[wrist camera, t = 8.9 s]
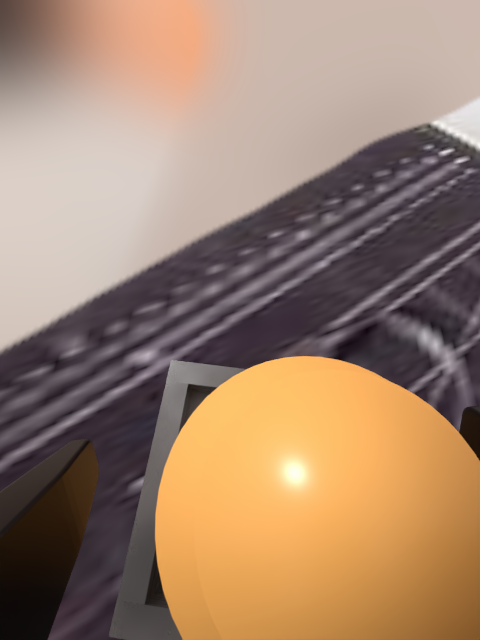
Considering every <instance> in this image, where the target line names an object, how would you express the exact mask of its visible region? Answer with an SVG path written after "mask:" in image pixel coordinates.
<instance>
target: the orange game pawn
mask: <svg viewBox="0 0 480 640" xmlns="http://www.w3.org/2000/svg"><path fill="white" fill-rule="evenodd" d="M155 543H156V553H157V564H158V569H159V574H160V578H161V583H162V588H163V592H164V595H165V598H166V601H167V604H168V607H169V610H170V612H171V615H172V618H173V620H174V622H175V624H176V626H177V628H178V630H179V633H180V635H181V637H182V639H183V640H480V461H479V459H478V458H477V456H476V454H475V453H474V451H473V450H472V449H471V448H470V446H469V445H468V444H467V442H466V441H465V440H464V438H463V437H462V436H461V435H460V433H459V432H458V431H457V430H456V429H455V428H454V427H453V426H452V425H451V424H450V423H449V422H448V421H447V420H446V419H445V418H444V417H443V416H442V415H441V414H440V413H438V412H437V411H436V410H435V409H434V408H433V407H432V406H430V405H429V404H427V403H426V402H425V401H423V400H422V399H420V398H419V397H418V396H416V395H415V394H413V393H411V392H409V391H408V390H406V389H404V388H402V387H400V386H399V385H396V384H394V383H392V382H390V381H388V380H386V379H384V378H383V377H381V376H379V375H377V374H375V373H374V372H371V371H369V370H366V369H364V368H362V367H359V366H357V365H354V364H350V363H347V362H344V361H340V360H335V359H329V358H323V357H309V356H300V357H287V358H281V359H276V360H272V361H267V362H264V363H262V364H259V365H256V366H253V367H250V368H248V369H247V370H245V371H243V372H241V373H239V374H237V375H235V376H233V377H232V378H230V379H229V380H227V381H226V382H224V383H223V384H221V385H220V386H219V387H218V388H217V389H215V390H214V391H213V392H212V393H211V394H210V395H209V396H207V397H206V398H205V399H204V401H203V402H202V403H201V404H200V405H199V406H198V407H197V408H196V410H195V411H194V412H193V413H192V415H191V416H190V418H189V419H188V420H187V422H186V423H185V425H184V426H183V428H182V429H181V431H180V433H179V435H178V437H177V439H176V441H175V443H174V445H173V447H172V449H171V451H170V454H169V457H168V459H167V462H166V465H165V467H164V471H163V475H162V479H161V483H160V487H159V492H158V499H157V507H156V517H155Z"/></svg>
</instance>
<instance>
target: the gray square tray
mask: <svg viewBox="0 0 480 640" xmlns="http://www.w3.org/2000/svg"><path fill="white" fill-rule="evenodd" d="M245 370H247V369H239V368H231V367H223V366H215V365H207V364H199V363H191V362H183V361H175V360H171V363H170V368H169V372H168V377H167V381H166V385H165V390H164V394H163V399H162V403H161V407H160V412H159V416H158V421H157V425H156V430H155V434H154V438H153V443H152V447H151V452H150V456H149V461H148V465H147V469H146V474H145V478H144V483H143V487H142V491H141V496H140V500H139V505H138V509H137V514H136V518H135V522H134V527H133V531H132V536H131V540H130V545H129V549H128V553H127V558H126V562H125V567H124V571H123V575H122V580H121V584H120V589H119V593H118V598H117V602H116V606H115V611H114V615H113V620H112V624H111V629H110V633H109V637H115V638H121V639H127V640H183V639H182V637H181V635H180V633H179V630H178V628H177V626H176V624H175V622H174V620H173V618H172V615H171V612H170V610H169V607H168V604H167V601H166V598H165V595H164V592H163V588H162V583H161V578H160V574H159V569H158V564H157V553H156V543H155V517H156V507H157V499H158V492H159V487H160V483H161V479H162V475H163V471H164V467H165V465H166V462H167V459H168V457H169V454H170V451H171V449H172V447H173V445H174V443H175V441H176V439H177V437H178V435H179V433H180V431H181V429H182V428H183V426H184V425H185V423H186V422H187V420H188V419H189V418H190V416H191V415H192V413H193V412H194V411H195V410H196V408H197V407H198V406H199V405H200V404H201V403H202V402H203V401H204V399H205V398H206V397H207V396H209V395H210V394H211V393H212V392H213V391H214V390H215V389H217V388H218V387H219V386H220V385H221V384H223V383H224V382H226V381H227V380H229V379H230V378H232V377H233V376H235V375H237V374H239V373H241V372H243V371H245Z"/></svg>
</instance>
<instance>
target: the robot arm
mask: <svg viewBox="0 0 480 640" xmlns="http://www.w3.org/2000/svg"><path fill="white" fill-rule="evenodd" d="M459 433H460V435H461V436H462V437H463V438H464V440H465V441H466V442H467V444H468V445H469V446H470V448H471V449H472V450H473V451H474V453H475V454H476V456H477V458H478V459H479V461H480V406H471V407H467V408H465V409H464V411H463V414H462V420H461V425H460V431H459ZM98 476H99V466H98V462H97V458H96V454H95V450H94V446H93V443H92V441H91V440H89V439H82V440H73V441H71V442H69V443H68V444H67V445H65V446H64V447H62V448H61V449H60V450H58V451H57V452H55V453H54V454H53V455H51V456H50V457H48V458H47V459H46V460H44V461H43V462H41V463H40V464H39V465H37V466H36V467H34V468H33V469H31V470H30V471H29V472H27V473H26V474H24V475H23V476H22V477H20V478H19V479H17V480H16V481H15V482H13V483H12V484H10V485H9V486H8V487H6V488H5V489H3V490H2V491H1V492H0V640H47V639H48V636H49V634H50V631H51V628H52V625H53V623H54V620H55V617H56V614H57V611H58V609H59V606H60V603H61V600H62V597H63V595H64V592H65V589H66V586H67V584H68V581H69V578H70V575H71V572H72V570H73V567H74V564H75V561H76V559H77V556H78V553H79V550H80V547H81V544H82V540H83V537H84V533H85V529H86V525H87V521H88V517H89V513H90V509H91V505H92V501H93V497H94V493H95V489H96V485H97V481H98Z"/></svg>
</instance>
